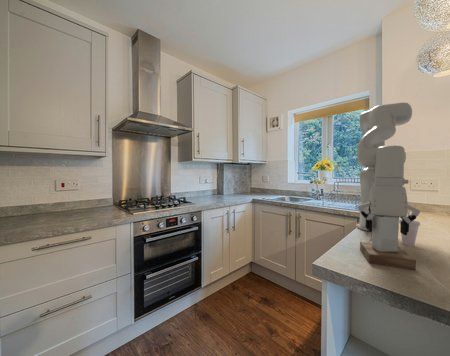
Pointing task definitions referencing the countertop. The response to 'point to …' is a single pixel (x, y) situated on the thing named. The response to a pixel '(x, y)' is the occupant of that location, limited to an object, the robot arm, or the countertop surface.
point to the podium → (388, 257)
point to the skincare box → (385, 233)
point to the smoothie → (410, 233)
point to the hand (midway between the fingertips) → (385, 232)
